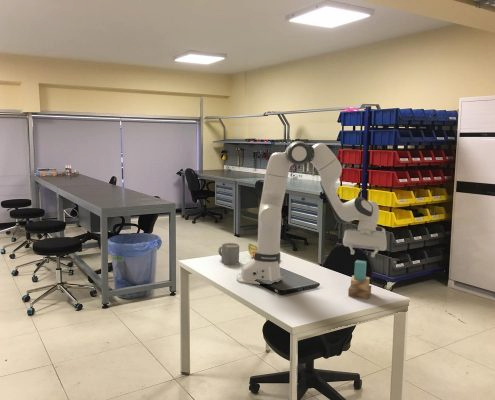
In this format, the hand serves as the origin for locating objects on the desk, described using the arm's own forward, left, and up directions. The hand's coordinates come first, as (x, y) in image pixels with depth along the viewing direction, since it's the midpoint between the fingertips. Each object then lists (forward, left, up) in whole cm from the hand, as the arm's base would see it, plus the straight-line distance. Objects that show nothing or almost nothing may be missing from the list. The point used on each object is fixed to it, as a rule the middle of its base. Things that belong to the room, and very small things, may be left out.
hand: (362, 255), depth 213 cm
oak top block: (-1, -4, -14) cm, 15 cm away
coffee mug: (-65, +44, -18) cm, 81 cm away
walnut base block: (-1, -4, -18) cm, 19 cm away
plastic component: (-46, +54, -18) cm, 74 cm away
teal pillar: (-1, -4, -10) cm, 11 cm away
